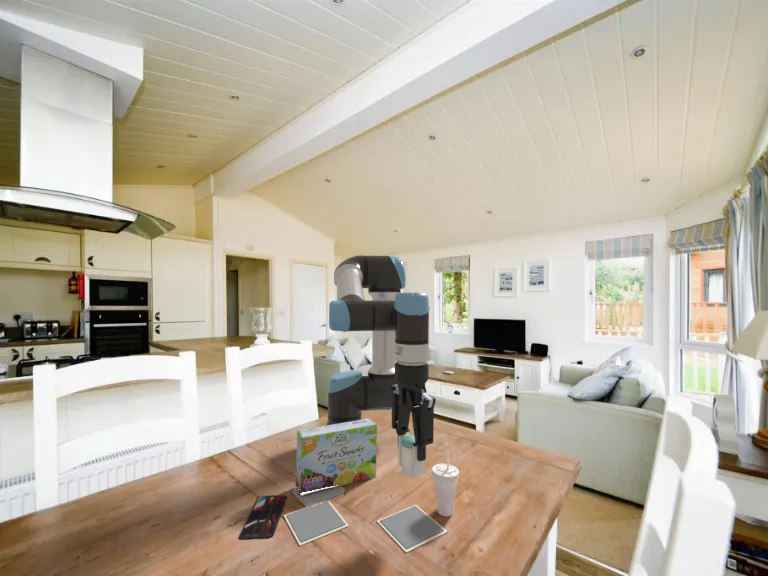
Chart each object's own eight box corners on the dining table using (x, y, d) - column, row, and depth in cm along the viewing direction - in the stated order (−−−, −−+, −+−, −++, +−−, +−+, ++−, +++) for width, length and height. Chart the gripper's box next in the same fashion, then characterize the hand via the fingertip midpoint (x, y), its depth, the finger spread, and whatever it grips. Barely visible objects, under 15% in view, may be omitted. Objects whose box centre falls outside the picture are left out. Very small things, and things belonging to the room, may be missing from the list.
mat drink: (376, 521, 76) (376, 519, 76) (415, 505, 82) (415, 503, 82) (406, 553, 67) (406, 551, 67) (447, 532, 73) (447, 530, 73)
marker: (397, 469, 75) (397, 438, 75) (413, 464, 78) (413, 433, 78) (409, 479, 72) (410, 445, 72) (426, 473, 74) (426, 440, 74)
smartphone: (237, 538, 70) (258, 495, 85) (237, 542, 70) (258, 498, 85) (273, 537, 71) (287, 494, 86) (273, 540, 71) (287, 497, 86)
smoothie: (459, 522, 76) (459, 459, 76) (430, 518, 77) (430, 456, 78) (459, 504, 82) (459, 446, 83) (432, 501, 84) (432, 444, 84)
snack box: (300, 498, 85) (301, 437, 85) (295, 487, 90) (296, 429, 90) (377, 477, 95) (377, 423, 95) (368, 468, 100) (368, 416, 100)
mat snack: (283, 516, 78) (283, 514, 78) (328, 500, 84) (328, 499, 84) (299, 546, 69) (299, 544, 69) (348, 526, 75) (348, 524, 75)
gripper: (376, 357, 81) (375, 457, 80) (423, 371, 66) (423, 493, 65) (402, 354, 85) (401, 449, 84) (452, 367, 70) (452, 482, 69)
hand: (411, 468), depth 75 cm, fingers closed on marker, 4 cm apart
